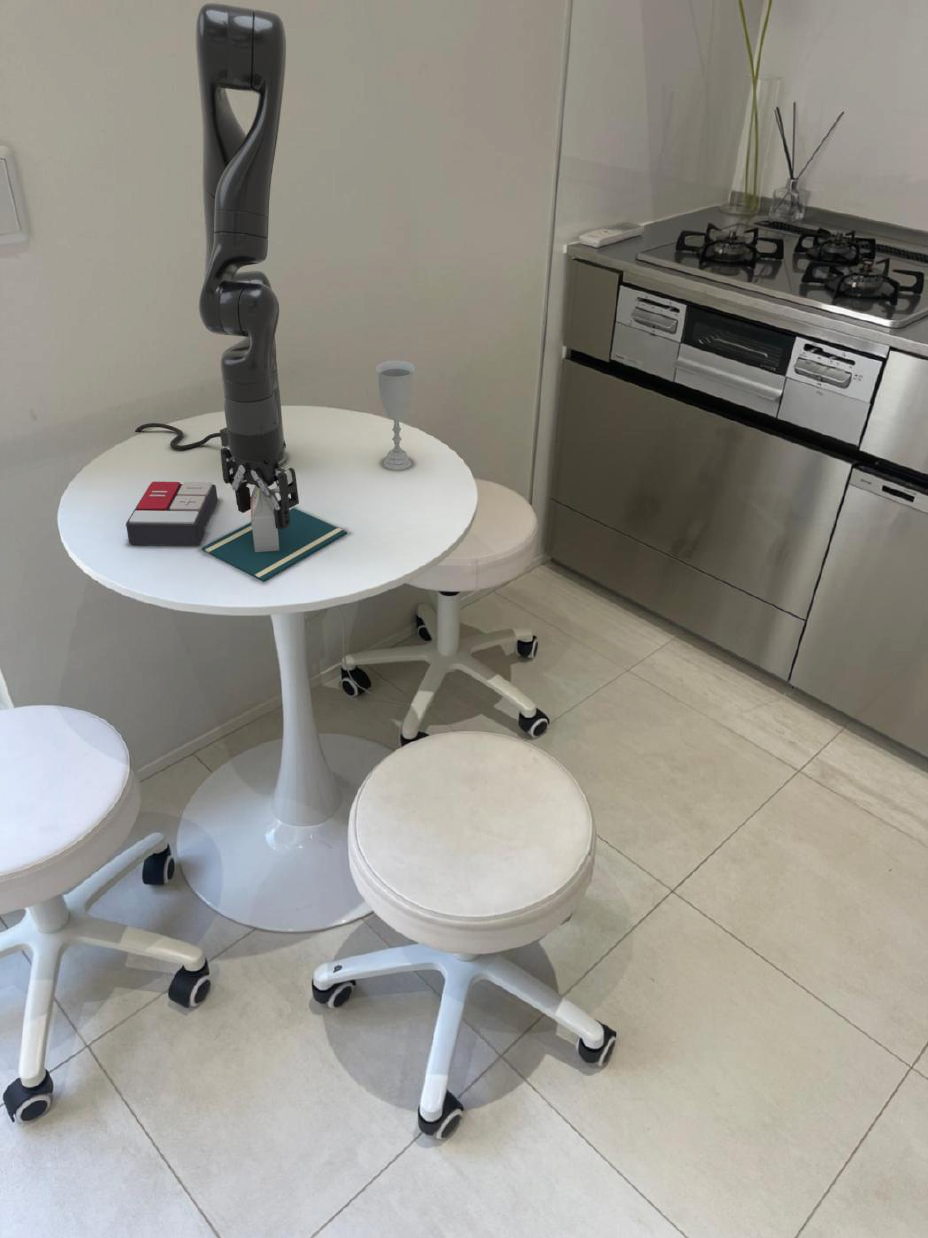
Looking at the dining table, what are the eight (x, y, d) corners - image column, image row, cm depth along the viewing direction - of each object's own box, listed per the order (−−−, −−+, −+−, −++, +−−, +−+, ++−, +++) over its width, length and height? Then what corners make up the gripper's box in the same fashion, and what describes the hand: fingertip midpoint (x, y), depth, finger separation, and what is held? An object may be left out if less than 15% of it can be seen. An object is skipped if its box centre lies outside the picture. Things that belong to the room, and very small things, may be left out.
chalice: (410, 474, 171) (409, 378, 160) (373, 470, 172) (370, 374, 161) (420, 456, 177) (419, 362, 166) (384, 452, 178) (382, 358, 167)
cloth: (201, 549, 149) (201, 547, 149) (285, 506, 161) (285, 503, 160) (263, 581, 142) (263, 579, 142) (347, 533, 154) (346, 531, 154)
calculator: (215, 479, 160) (195, 520, 147) (218, 502, 162) (199, 545, 150) (149, 478, 160) (124, 519, 147) (153, 502, 162) (128, 544, 149)
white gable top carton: (277, 528, 154) (271, 472, 148) (279, 550, 149) (273, 493, 143) (254, 530, 153) (247, 474, 147) (255, 552, 148) (248, 495, 142)
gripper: (305, 427, 138) (313, 524, 148) (239, 401, 145) (250, 495, 155) (267, 444, 133) (277, 544, 143) (200, 416, 140) (214, 513, 150)
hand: (263, 518), depth 149 cm, fingers open, 8 cm apart
